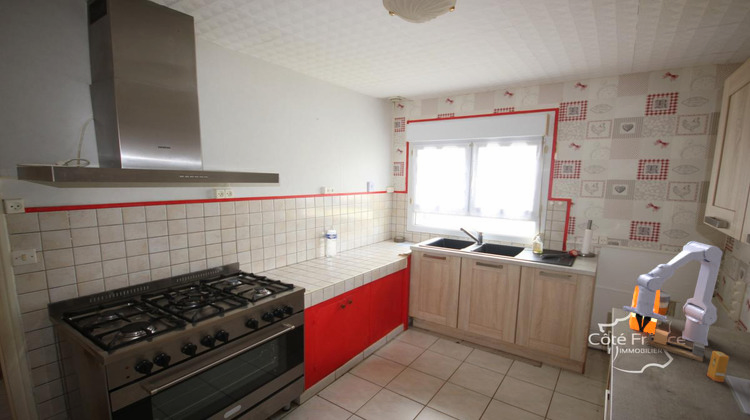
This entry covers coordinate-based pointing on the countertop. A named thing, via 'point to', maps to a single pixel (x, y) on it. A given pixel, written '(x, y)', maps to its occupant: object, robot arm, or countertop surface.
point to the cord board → (680, 348)
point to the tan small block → (660, 336)
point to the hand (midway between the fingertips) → (641, 330)
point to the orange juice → (633, 322)
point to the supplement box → (717, 366)
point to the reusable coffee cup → (663, 304)
